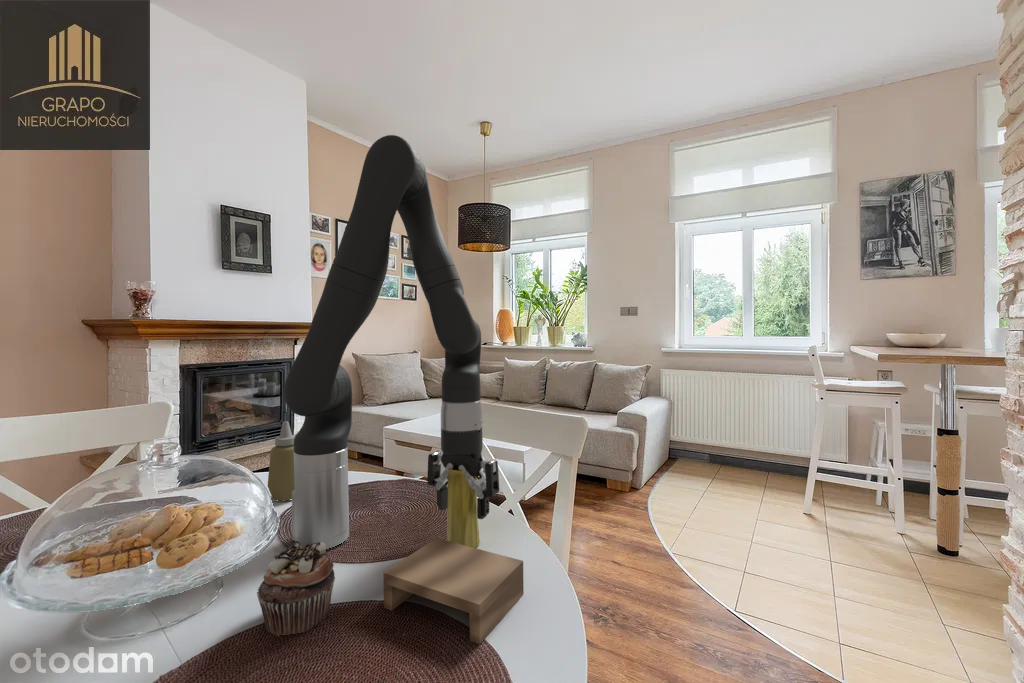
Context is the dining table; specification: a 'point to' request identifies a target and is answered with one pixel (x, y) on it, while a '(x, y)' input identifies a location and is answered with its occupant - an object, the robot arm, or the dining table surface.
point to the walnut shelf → (458, 582)
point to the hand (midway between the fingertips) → (462, 513)
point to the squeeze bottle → (282, 465)
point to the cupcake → (297, 589)
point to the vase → (461, 510)
